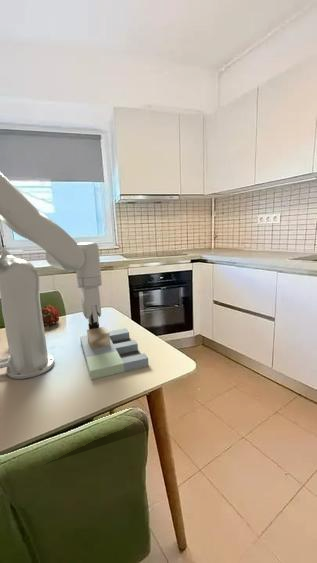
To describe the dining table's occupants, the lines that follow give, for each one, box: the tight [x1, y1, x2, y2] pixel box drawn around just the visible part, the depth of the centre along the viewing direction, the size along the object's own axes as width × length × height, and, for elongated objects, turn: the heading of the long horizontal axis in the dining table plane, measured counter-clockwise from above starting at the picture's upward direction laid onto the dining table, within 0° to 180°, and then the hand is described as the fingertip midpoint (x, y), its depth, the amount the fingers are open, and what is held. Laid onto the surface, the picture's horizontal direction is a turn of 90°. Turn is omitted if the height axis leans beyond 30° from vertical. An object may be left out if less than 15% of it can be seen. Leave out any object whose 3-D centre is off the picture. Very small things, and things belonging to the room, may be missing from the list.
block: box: [86, 326, 110, 349], centre depth 88 cm, size 6×6×4 cm
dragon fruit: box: [41, 304, 60, 326], centre depth 114 cm, size 8×8×12 cm
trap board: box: [79, 327, 149, 380], centre depth 86 cm, size 16×24×2 cm, turn 21°
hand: (94, 334), depth 92 cm, fingers closed
